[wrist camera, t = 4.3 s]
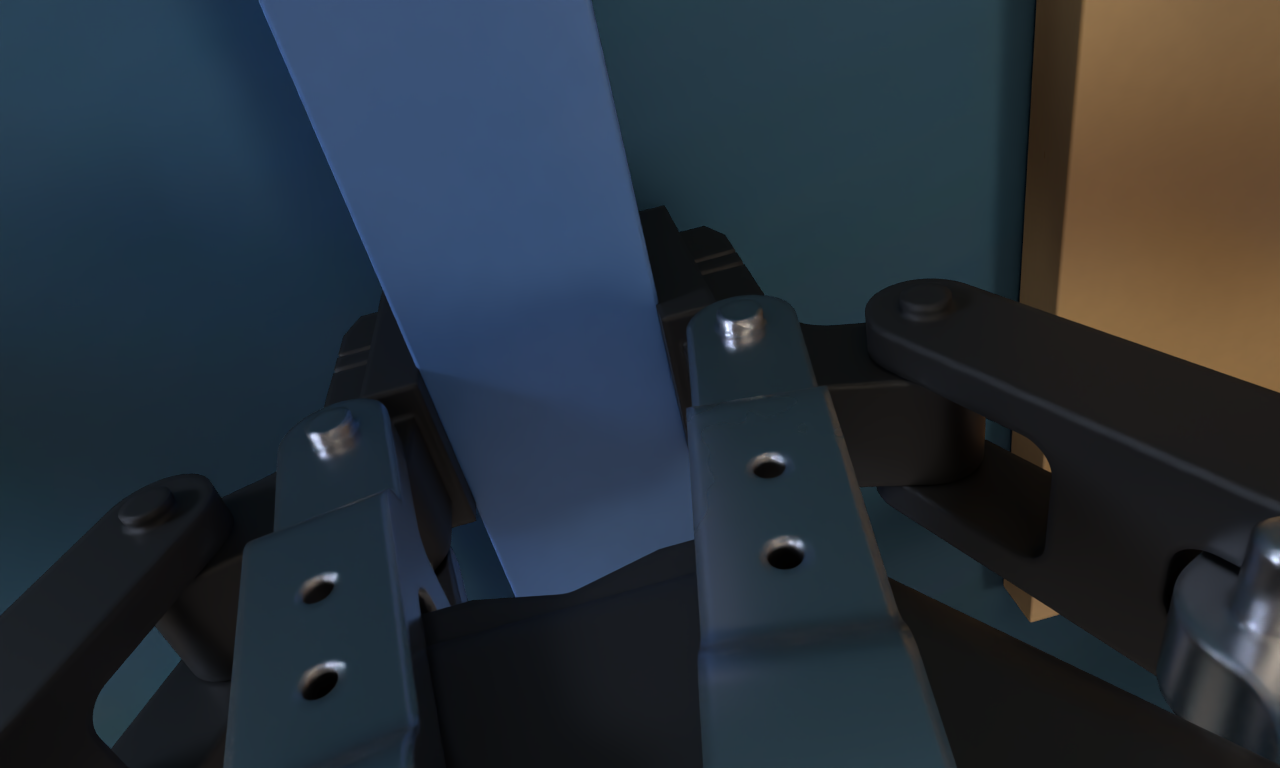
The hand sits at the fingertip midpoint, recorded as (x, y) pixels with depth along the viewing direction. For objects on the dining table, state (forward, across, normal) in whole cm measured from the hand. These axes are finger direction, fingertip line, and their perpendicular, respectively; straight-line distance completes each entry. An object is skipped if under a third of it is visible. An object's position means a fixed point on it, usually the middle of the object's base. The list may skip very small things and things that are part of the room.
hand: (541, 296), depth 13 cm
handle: (+1, 0, 0) cm, 1 cm away
